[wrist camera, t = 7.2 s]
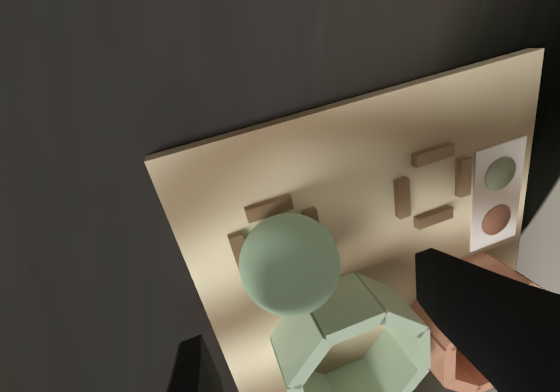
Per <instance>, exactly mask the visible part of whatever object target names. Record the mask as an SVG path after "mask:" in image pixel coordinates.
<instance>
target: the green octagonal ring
mask: <svg viewBox="0 0 560 392" xmlns="http://www.w3.org/2000/svg"><path fill="white" fill-rule="evenodd" d="M382 325H383V326H385V329H384V330H383V332H382V333H381V334H380V335H379V337H378V338H377V339H376V341H375V342H374V343H373V345H372V346H371V347H370V349H369V350H368V351H367V352H366V354H365V355H364V356H363V358H362V359H359V360H357V361H355V362H352V363H350V364H347V365H345V366H343V367H340V368H338V369H336V370H333V371H331V372H329V373H326V374H322V373H318V372H313V371H314V370H315V369H316V367H317V366H318V365H319V363H320V362H321V361H322V359H323V358H324V356H325V355H326V354H327V352H328V351H329V350H330V348H331V347H332V346H333V345H335V344H338V343H340V342H343V341H345V340H348V339H350V338H352V337H355V336H357V335H360V334H362V333H365V332H367V331H370V330H372V329H374V328H377V327H379V326H382ZM270 337H271V338H270V341H271V344H272V348H273V351H274V354H275V357H276V360H277V364H278V367H279V370H280V373H281V376H282V379H283V382H284V385H285V388H286V391H287V392H412V391H413V390H414V389H415V388H416V386H417V385H418V384H419V383H420V382H421V380H422V379H423V378H424V376H425V375H426V374H427V373H428V372H429V369H430V368H431V361H430V329H429V327H428V326H427V325H426V324H425V323H424V321H423V320H422V319H421V318H420V317H419V316H418V315H417V314H416V313H415V312H414V311H413V310H412V308H411V307H410V306H409V305H408V304H407V303H406V302H405V301H404V300H403V299H402V298H401V297H400V295H399V294H398V293H397V292H396V291H395V290H394V289H393V288H392V287H390V286H387V285H385V284H383V283H380V282H378V281H376V280H373V279H371V278H369V277H367V276H364V275H362V274H360V273H357V272H355V274H354V273H353V272H351V273H349V274H346V275H343V276H341V277H339V281H338V284H337V286H336V288H335V290H334V292H333V293H332V295H331V297H330V298H329V299H328V300H327V301H326V302H325V303H324V304H323V305H322V306H321V307H319V308H318V309H316V310H315V311H313V312H311V313H308V314H305V315H302V316H296V317H284V316H283V317H282V319H281V320H280V322H279V323H278V325H277V326H276V328H275V329H274V331H273V332H272V334H271V335H270Z"/></svg>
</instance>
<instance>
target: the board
mask: <svg viewBox="0 0 560 392" xmlns="http://www.w3.org/2000/svg"><path fill="white" fill-rule="evenodd" d="M543 55H544V48H527V49H524V50H520V51H517V52H513V53H509V54H506V55H502V56H499V57H495V58H492V59H488V60H485V61H481V62H477V63H474V64H470V65H467V66H463V67H460V68H456V69H453V70H449V71H445V72H442V73H438V74H435V75H431V76H428V77H424V78H421V79H417V80H413V81H410V82H406V83H403V84H399V85H396V86H392V87H389V88H385V89H381V90H378V91H374V92H371V93H367V94H364V95H360V96H357V97H353V98H349V99H346V100H342V101H339V102H335V103H332V104H328V105H325V106H321V107H317V108H314V109H310V110H307V111H303V112H300V113H296V114H293V115H289V116H285V117H282V118H278V119H275V120H271V121H268V122H264V123H261V124H257V125H253V126H250V127H246V128H243V129H239V130H236V131H232V132H229V133H225V134H221V135H218V136H214V137H211V138H207V139H204V140H200V141H196V142H193V143H189V144H186V145H182V146H179V147H175V148H172V149H168V150H164V151H161V152H157V153H154V154H150V155H147V156H146V157H145V161H144V162H145V165H146V167H147V170H148V172H149V174H150V177H151V179H152V182H153V184H154V187H155V189H156V191H157V194H158V196H159V199H160V201H161V203H162V206H163V208H164V211H165V213H166V216H167V218H168V220H169V223H170V225H171V228H172V230H173V233H174V235H175V237H176V240H177V242H178V245H179V247H180V250H181V252H182V254H183V257H184V259H185V262H186V264H187V267H188V269H189V271H190V274H191V276H192V279H193V281H194V284H195V286H196V288H197V291H198V293H199V296H200V298H201V301H202V303H203V305H204V308H205V310H206V313H207V315H208V318H209V320H210V322H211V325H212V327H213V330H214V332H215V335H216V337H217V339H218V342H219V344H220V347H221V349H222V352H223V354H224V356H225V359H226V361H227V364H228V366H229V369H230V371H231V373H232V376H233V378H234V381H235V383H236V385H237V388H238V390H239V392H287V391H286V388H285V385H284V382H283V379H282V376H281V373H280V370H279V367H278V364H277V360H276V357H275V354H274V351H273V348H272V344H271V341H270V338H271V337H270V335H271V334H272V332H273V331H274V329H275V328H276V326H277V325H278V323H279V322H280V320H281V319H282V317H283V316H279V315H275V314H272V313H270V312H268V311H266V310H264V309H262V308H261V307H260V306H258V305H257V304H256V303H255V302H254V301H253V300H252V299H251V298H250V296H249V295H248V293H247V292H246V290H245V288H244V286H243V283H242V281H241V277H240V272H239V257H240V252H241V249H242V246H243V243H244V241H245V239H246V237H247V236H248V235H249V233H250V232H251V231H252V230H253V228H254V227H255V226H257V225H258V224H259V223H260V222H262V221H263V220H265V219H267V218H269V217H271V216H274V215H278V214H283V213H296V214H301V215H305V216H308V217H310V218H312V219H314V220H316V221H317V222H319V223H320V224H321V225H323V226H324V227H325V228H326V229H327V230H328V231H329V233H330V234H331V235H332V237H333V239H334V240H335V242H336V245H337V247H338V250H339V254H340V260H341V270H340V277H341V276H343V275H346V274H349V273H351V272H353V273H354V274H355V272H357V273H360V274H362V275H364V276H367V277H369V278H371V279H373V280H376V281H378V282H380V283H383V284H385V285H387V286H390V287H392V288H393V289H394V290H395V291H396V292H397V293H398V294H399V295H400V297H401V298H402V299H403V300H404V301H405V302H406V303H407V304H408V305H409V306H411V305H412V303H413V302H414V301H415V300H416V272H415V254H416V253H418V252H421V251H424V250H426V249H429V248H433V249H436V250H439V251H441V252H444V253H447V254H449V255H452V256H454V257H457V258H459V259H462V260H463V259H466V258H468V257H471V256H473V255H476V254H478V253H481V252H486V253H488V254H489V255H491V256H493V257H494V258H496V259H498V260H499V261H501V262H503V263H504V264H506V265H508V266H509V267H511V268H512V269H514V270H515V271H516V264H517V257H518V249H519V241H520V233H521V226H522V218H523V210H524V202H525V195H526V187H527V179H528V171H529V164H530V156H531V148H532V141H533V133H534V125H535V117H536V110H537V102H538V94H539V86H540V79H541V71H542V63H543ZM384 329H385V326H383V325H382V326H379V327H377V328H374V329H372V330H370V331H367V332H365V333H362V334H360V335H357V336H355V337H352V338H350V339H348V340H345V341H343V342H340V343H338V344H335V345H333V346H332V347H331V348H330V350H329V351H328V352H327V354H326V355H325V356H324V358H323V359H322V361H321V362H320V363H319V365H318V366H317V367H316V369H315V370H314V371H313V372H318V373H322V374H326V373H329V372H331V371H333V370H336V369H338V368H340V367H343V366H345V365H347V364H350V363H352V362H355V361H357V360H359V359H362V358H363V356H364V355H365V354H366V352H367V351H368V350H369V349H370V347H371V346H372V345H373V343H374V342H375V341H376V339H377V338H378V337H379V335H380V334H381V333H382V332H383V330H384Z"/></svg>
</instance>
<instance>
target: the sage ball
mask: <svg viewBox="0 0 560 392" xmlns="http://www.w3.org/2000/svg"><path fill="white" fill-rule="evenodd" d="M340 270H341V260H340V254H339V250H338V247H337V245H336V242H335V240H334V239H333V237H332V235H331V234H330V233H329V231H328V230H327V229H326V228H325V227H324V226H323V225H321V224H320V223H319V222H317V221H316V220H314V219H312V218H310V217H308V216H305V215H301V214H296V213H283V214H278V215H274V216H271V217H269V218H267V219H265V220H263V221H262V222H260V223H259V224H258V225H257V226H255V227H254V228H253V230H252V231H251V232H250V233H249V235H248V236H247V237H246V239H245V241H244V243H243V246H242V249H241V252H240V257H239V272H240V277H241V281H242V283H243V286H244V288H245V290H246V292H247V293H248V295H249V296H250V298H251V299H252V300H253V301H254V302H255V303H256V304H257V305H258V306H260V307H261V308H262V309H264V310H266V311H268V312H270V313H272V314H275V315H279V316H284V317H296V316H302V315H305V314H308V313H311V312H313V311H315V310H316V309H318V308H319V307H321V306H322V305H323V304H324V303H325V302H326V301H327V300H328V299H329V298H330V297H331V295H332V293H333V292H334V290H335V288H336V286H337V284H338V281H339V277H340Z"/></svg>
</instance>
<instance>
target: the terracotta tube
mask: <svg viewBox="0 0 560 392" xmlns="http://www.w3.org/2000/svg"><path fill="white" fill-rule="evenodd" d="M463 260H464V261H467V262H470V263H472V264H475V265H477V266H480V267H482V268H485V269H487V270H490V271H493V272H495V273H498V274H501V275H503V276H506V277H509V278H511V279H514V280H517V281H520V282H523V283H526V284H529V285H532V286H535V287H538V288H541V289H543V288H542V287H540V286H539V285H537V284H535V283H534V282H532V281H531V280H529V279H528V278H526V277H525V276H523V275H522V274H520V273H519V272H517V271H515V270H514V269H512V268H511V267H509V266H508V265H506V264H504V263H503V262H501V261H499V260H498V259H496V258H494V257H493V256H491V255H489V254H488V253H486V252H481V253H478V254H476V255H473V256H471V257H468V258H466V259H463ZM544 290H545V289H544ZM410 307H411V308H412V310H413V311H414V312H415V313H416V314H417V315H418V316H419V317H420V318H421V319H422V320H423V321H424V323H425V324H426V325H427V326H428V327H429V329H430V361H431V368H430V370H431V371H432V373H433V374H434V375H435V376H436V377H437V379H438V380H439V381H440V383H441V384H442V385H443V386H444V387H445V388H447V389H450V390H454V391H458V392H485V391H487V390H489V389H491V388H493V385H492V384H491V383H490V382H489V381H488V380H487V379H486V378H485V377H484V376H483V375H482V374H481V373H480V372H479V371H478V370H477V369H476V368H475V367H474V366H473V365H472V364H471V362H470V361H469V360H468V359H467V358H466V357H465V356H464V355H463V354H462V353H461V352H460V351H459V350H458V349H457V348H456V347H455V346H454V345H453V344H452V343H451V342H450V341H449V339H448V338H447V337H446V336H445V335H444V334H443V333H442V332H441V331H440V330H439V329H438V328H437V327H436V325H435V324H434V323H433V322H432V320H431V319H430V318H429V316H428V315H427V314H426V312H425V311H424V310H423V308H422V307H421V306H420V304H419V303H418V301H417V300H415V301H414V302H413V303H412V305H411V306H410Z"/></svg>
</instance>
